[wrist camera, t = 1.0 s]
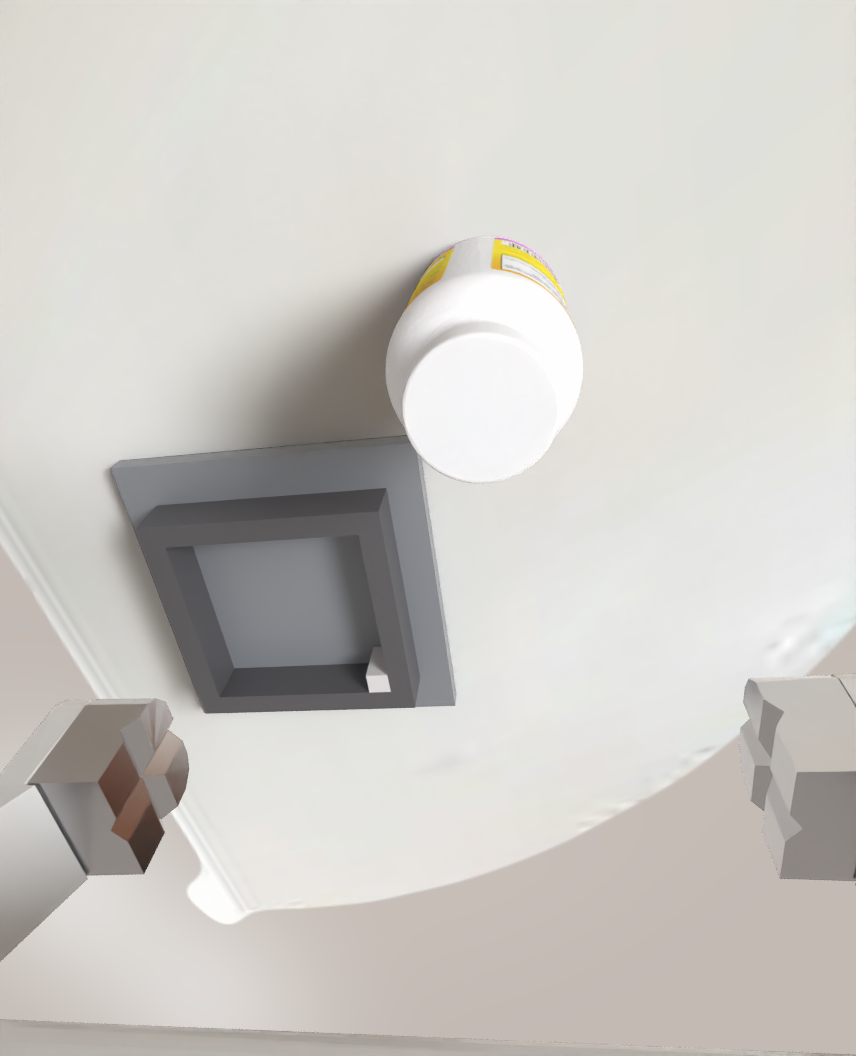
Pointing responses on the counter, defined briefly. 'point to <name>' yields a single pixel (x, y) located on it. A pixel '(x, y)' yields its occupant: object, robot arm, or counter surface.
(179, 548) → the pocket plate
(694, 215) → the counter surface
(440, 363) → the supplement bottle
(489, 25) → the counter surface
